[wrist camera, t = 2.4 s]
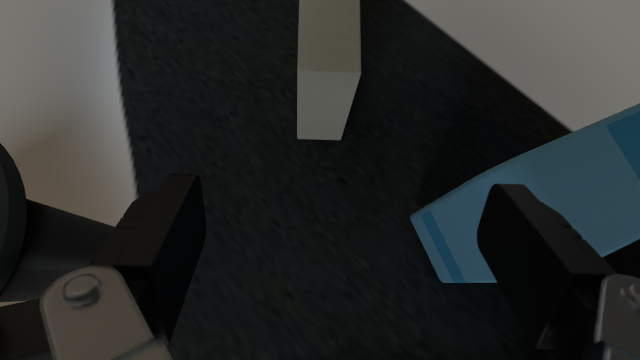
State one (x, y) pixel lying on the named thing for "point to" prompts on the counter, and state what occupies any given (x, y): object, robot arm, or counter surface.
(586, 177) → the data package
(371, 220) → the counter surface
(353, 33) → the beige block
